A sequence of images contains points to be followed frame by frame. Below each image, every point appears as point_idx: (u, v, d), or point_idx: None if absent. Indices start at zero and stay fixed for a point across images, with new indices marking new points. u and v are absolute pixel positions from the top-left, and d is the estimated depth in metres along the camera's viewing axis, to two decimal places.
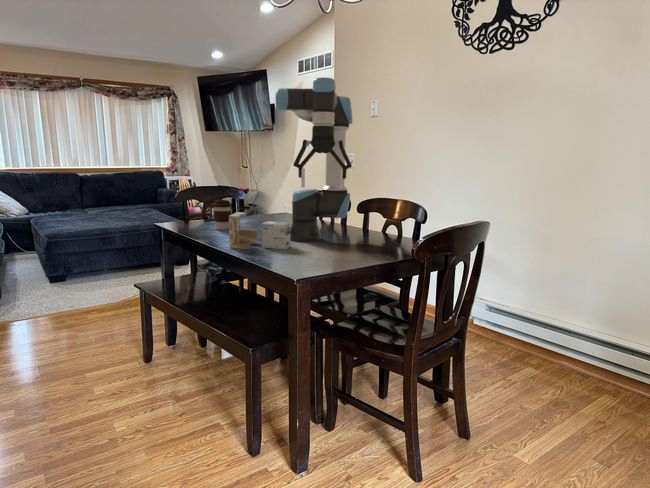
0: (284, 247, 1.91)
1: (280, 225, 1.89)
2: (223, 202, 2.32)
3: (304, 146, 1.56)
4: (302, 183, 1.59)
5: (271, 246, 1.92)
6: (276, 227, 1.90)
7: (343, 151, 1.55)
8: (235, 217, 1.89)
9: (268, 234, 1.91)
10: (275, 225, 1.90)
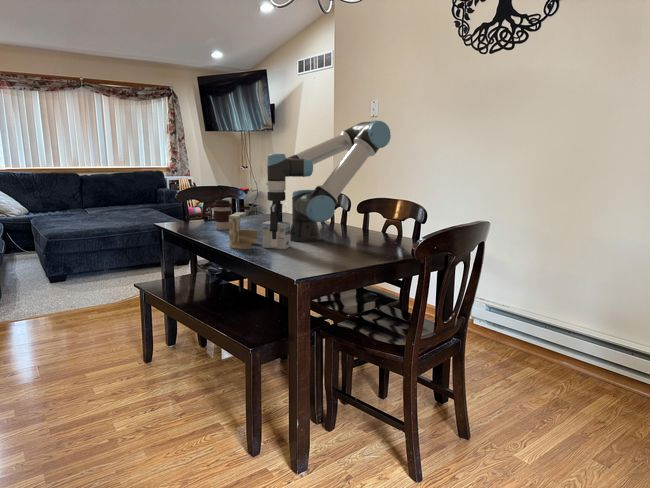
0: (284, 247, 1.91)
1: (280, 225, 1.89)
2: (223, 202, 2.32)
3: None
4: None
5: None
6: None
7: None
8: (235, 217, 1.89)
9: (268, 234, 1.91)
10: None
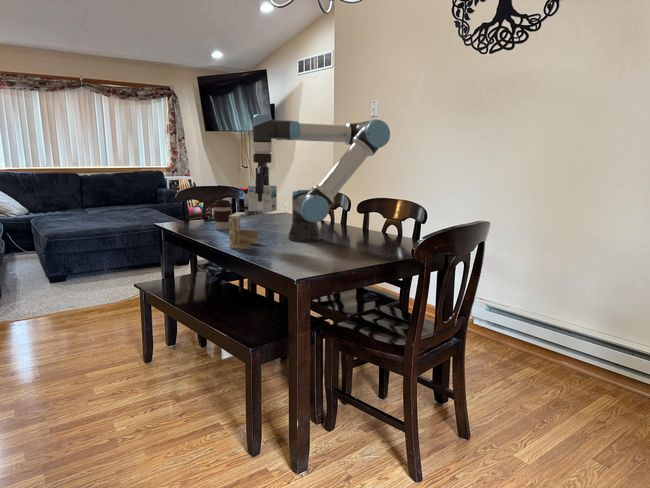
0: (270, 210, 1.89)
1: (266, 187, 1.87)
2: (223, 202, 2.32)
3: None
4: None
5: (257, 209, 1.90)
6: None
7: None
8: (235, 217, 1.89)
9: (254, 197, 1.89)
10: None
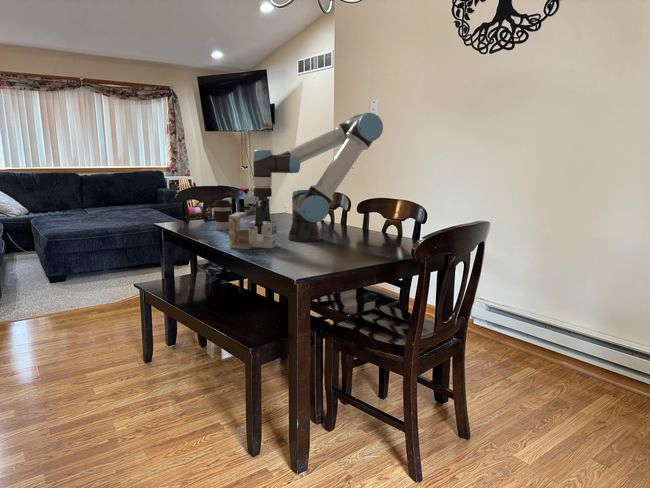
0: (271, 246, 1.92)
1: (266, 224, 1.90)
2: (223, 202, 2.32)
3: None
4: None
5: (258, 245, 1.93)
6: None
7: None
8: (235, 217, 1.89)
9: (254, 234, 1.92)
10: None
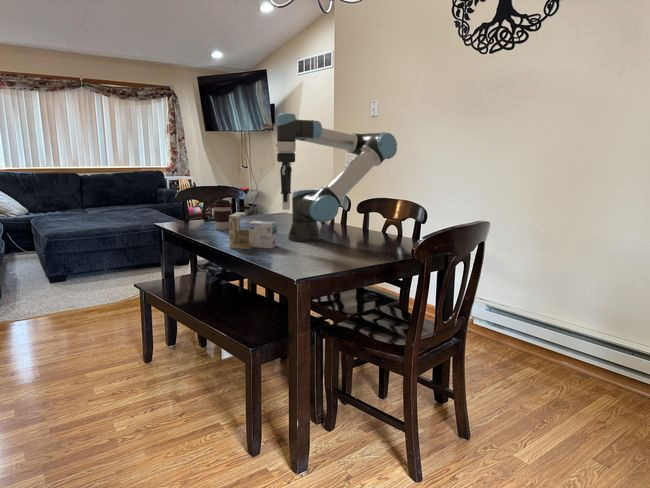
0: (271, 246, 1.92)
1: (266, 224, 1.90)
2: (223, 202, 2.32)
3: None
4: None
5: (258, 245, 1.93)
6: (262, 226, 1.91)
7: None
8: (235, 217, 1.89)
9: (254, 234, 1.92)
10: (261, 224, 1.91)
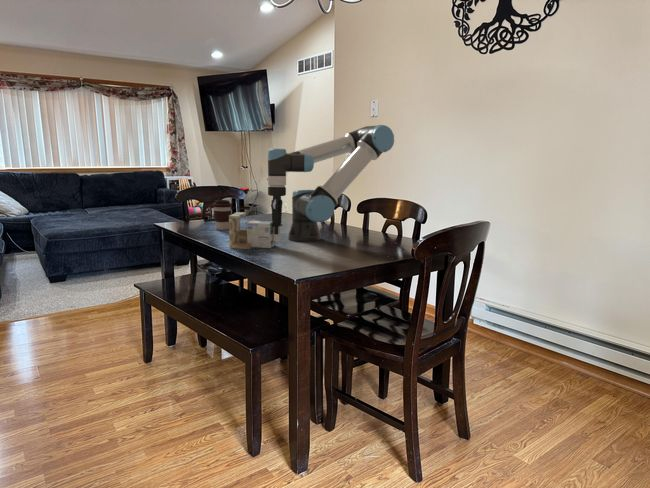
0: (269, 246, 1.92)
1: (265, 224, 1.90)
2: (223, 202, 2.32)
3: None
4: None
5: (256, 245, 1.93)
6: (261, 226, 1.91)
7: None
8: (235, 217, 1.89)
9: (252, 234, 1.92)
10: (260, 224, 1.91)
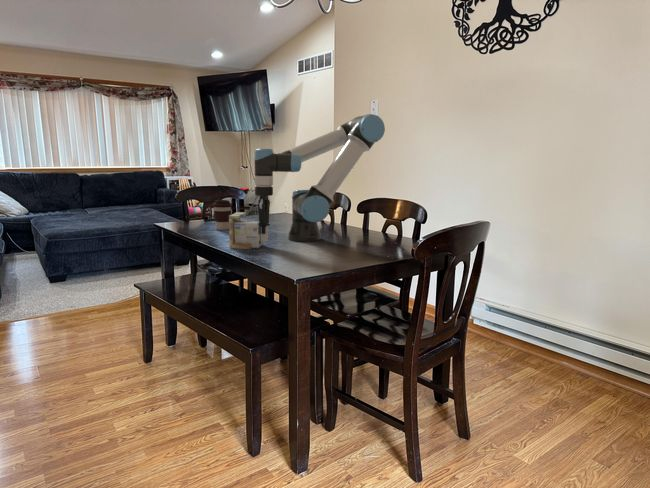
0: (257, 246, 1.93)
1: (253, 224, 1.91)
2: (223, 202, 2.32)
3: None
4: None
5: None
6: (249, 226, 1.91)
7: None
8: (235, 217, 1.89)
9: (240, 234, 1.92)
10: (248, 224, 1.91)
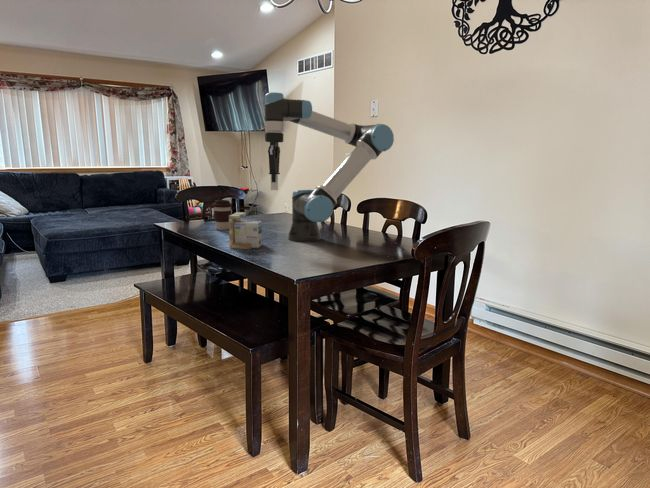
0: (257, 246, 1.93)
1: (253, 224, 1.91)
2: (223, 202, 2.32)
3: None
4: None
5: None
6: (249, 226, 1.91)
7: None
8: (235, 217, 1.89)
9: (240, 234, 1.92)
10: (248, 224, 1.91)
